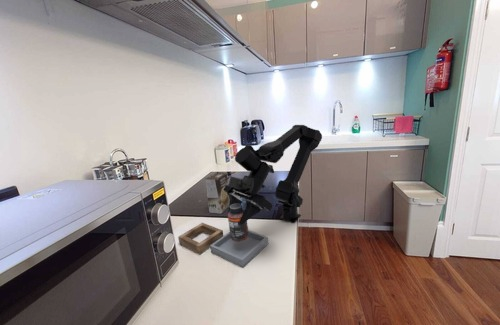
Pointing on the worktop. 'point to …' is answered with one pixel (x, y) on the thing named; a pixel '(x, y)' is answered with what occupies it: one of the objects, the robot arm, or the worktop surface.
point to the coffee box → (217, 192)
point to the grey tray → (239, 248)
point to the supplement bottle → (237, 223)
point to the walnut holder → (203, 245)
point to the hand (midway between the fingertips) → (234, 220)
